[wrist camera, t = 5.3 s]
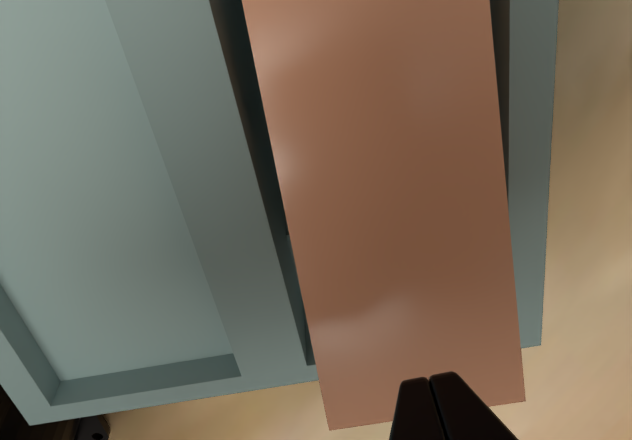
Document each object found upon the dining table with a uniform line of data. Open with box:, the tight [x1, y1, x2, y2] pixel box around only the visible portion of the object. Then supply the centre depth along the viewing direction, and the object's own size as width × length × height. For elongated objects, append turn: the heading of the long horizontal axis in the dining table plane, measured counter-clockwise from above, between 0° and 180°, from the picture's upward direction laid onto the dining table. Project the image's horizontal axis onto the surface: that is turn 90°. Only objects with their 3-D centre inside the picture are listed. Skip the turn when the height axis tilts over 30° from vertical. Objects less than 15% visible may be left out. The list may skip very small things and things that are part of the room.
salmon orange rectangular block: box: [242, 0, 526, 431], centre depth 13 cm, size 10×4×3 cm, turn 10°
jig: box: [0, 0, 559, 425], centre depth 16 cm, size 18×16×6 cm
